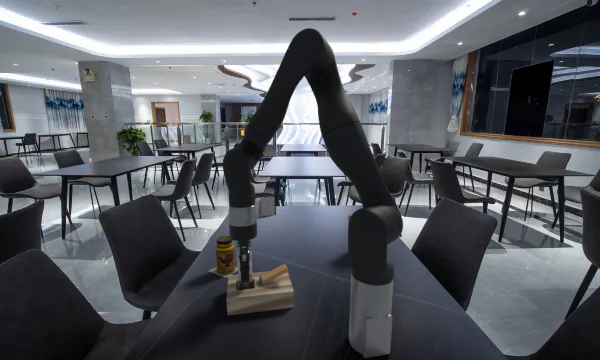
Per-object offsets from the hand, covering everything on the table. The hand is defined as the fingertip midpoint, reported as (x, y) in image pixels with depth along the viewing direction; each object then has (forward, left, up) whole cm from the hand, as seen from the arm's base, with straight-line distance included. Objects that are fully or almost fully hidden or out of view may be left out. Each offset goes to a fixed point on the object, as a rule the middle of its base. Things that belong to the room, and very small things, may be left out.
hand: (245, 277), depth 82 cm
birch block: (0, -4, -7) cm, 8 cm away
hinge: (+75, -11, -8) cm, 76 cm away
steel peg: (0, 0, -4) cm, 4 cm away
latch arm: (0, -8, -1) cm, 8 cm away
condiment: (+19, +7, -8) cm, 22 cm away
